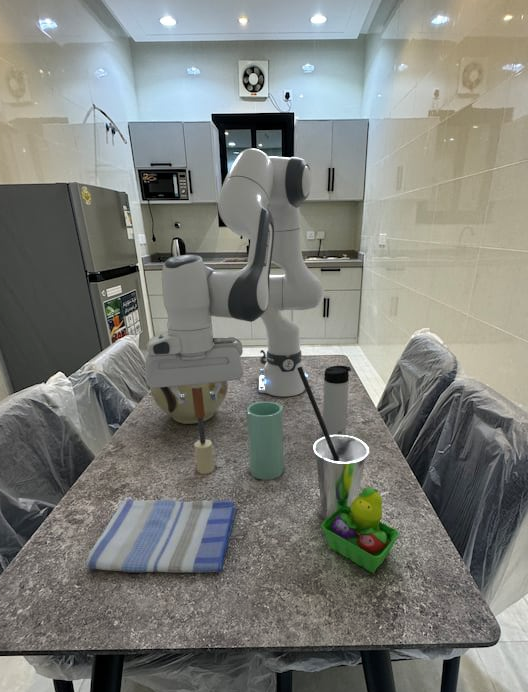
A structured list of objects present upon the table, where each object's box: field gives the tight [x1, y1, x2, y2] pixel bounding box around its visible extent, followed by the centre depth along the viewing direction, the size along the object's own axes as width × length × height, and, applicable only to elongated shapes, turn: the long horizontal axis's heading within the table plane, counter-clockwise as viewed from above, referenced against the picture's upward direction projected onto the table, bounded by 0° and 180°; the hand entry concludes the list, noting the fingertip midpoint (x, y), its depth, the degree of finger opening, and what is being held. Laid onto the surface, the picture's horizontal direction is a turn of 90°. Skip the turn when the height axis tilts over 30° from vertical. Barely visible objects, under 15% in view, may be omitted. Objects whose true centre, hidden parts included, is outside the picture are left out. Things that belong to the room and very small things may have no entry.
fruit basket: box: [320, 486, 400, 574], centre depth 65 cm, size 11×9×11 cm
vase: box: [246, 401, 284, 481], centre depth 87 cm, size 8×8×16 cm
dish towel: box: [85, 498, 238, 574], centre depth 70 cm, size 17×24×3 cm
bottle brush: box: [192, 386, 215, 475], centre depth 87 cm, size 4×4×21 cm
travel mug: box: [321, 365, 352, 438], centre depth 101 cm, size 6×7×20 cm
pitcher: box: [150, 381, 229, 425], centre depth 113 cm, size 22×24×25 cm
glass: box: [297, 367, 370, 521], centre depth 70 cm, size 11×11×30 cm
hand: (198, 401), depth 84 cm, fingers open, 5 cm apart
